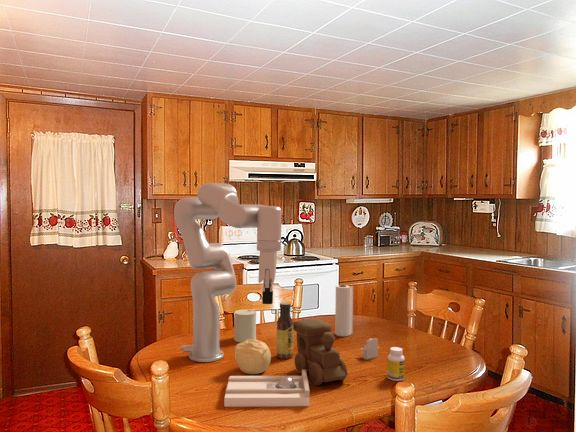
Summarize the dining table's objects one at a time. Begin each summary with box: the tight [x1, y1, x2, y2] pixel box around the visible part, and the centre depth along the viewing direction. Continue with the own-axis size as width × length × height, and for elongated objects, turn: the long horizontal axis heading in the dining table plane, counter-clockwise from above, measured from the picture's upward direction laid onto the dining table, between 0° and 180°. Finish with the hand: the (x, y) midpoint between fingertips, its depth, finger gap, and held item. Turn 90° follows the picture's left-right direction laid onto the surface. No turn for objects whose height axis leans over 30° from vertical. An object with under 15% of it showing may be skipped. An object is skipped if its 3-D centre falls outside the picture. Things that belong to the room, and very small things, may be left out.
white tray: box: [223, 370, 311, 408], centre depth 138 cm, size 24×16×4 cm, turn 92°
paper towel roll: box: [334, 284, 354, 337], centre depth 198 cm, size 7×6×21 cm
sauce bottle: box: [275, 302, 294, 360], centre depth 171 cm, size 7×6×20 cm
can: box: [233, 308, 257, 343], centre depth 191 cm, size 9×9×12 cm
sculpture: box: [234, 339, 272, 375], centre depth 156 cm, size 11×12×11 cm
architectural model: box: [360, 337, 380, 360], centre depth 172 cm, size 3×7×7 cm, turn 124°
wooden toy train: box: [292, 318, 348, 386], centre depth 152 cm, size 20×11×17 cm, turn 26°
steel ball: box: [278, 375, 295, 389], centre depth 139 cm, size 5×5×5 cm
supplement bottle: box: [386, 346, 406, 382], centre depth 151 cm, size 5×5×10 cm
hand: (267, 303), depth 145 cm, fingers closed
